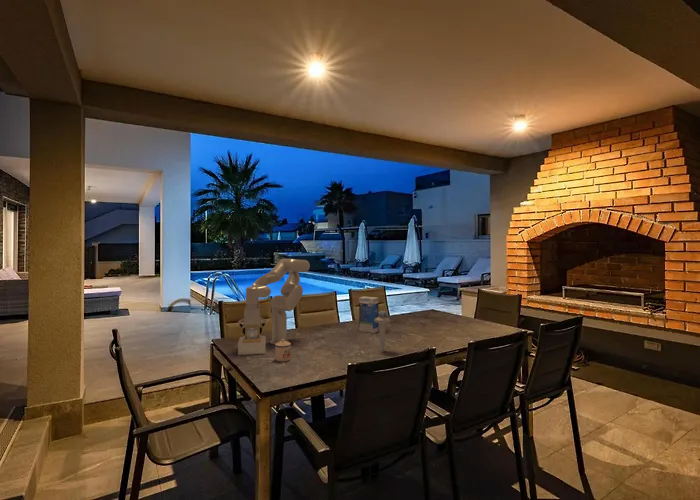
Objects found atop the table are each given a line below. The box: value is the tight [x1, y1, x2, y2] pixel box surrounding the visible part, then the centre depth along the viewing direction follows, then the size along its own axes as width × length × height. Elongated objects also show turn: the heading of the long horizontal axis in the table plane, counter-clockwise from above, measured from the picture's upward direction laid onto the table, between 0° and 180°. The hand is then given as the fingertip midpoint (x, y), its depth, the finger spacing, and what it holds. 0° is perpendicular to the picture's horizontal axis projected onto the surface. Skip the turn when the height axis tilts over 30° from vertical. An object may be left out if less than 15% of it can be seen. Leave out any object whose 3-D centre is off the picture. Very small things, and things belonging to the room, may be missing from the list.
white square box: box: [237, 334, 267, 356], centre depth 237 cm, size 16×16×8 cm
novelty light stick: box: [374, 310, 391, 353], centre depth 236 cm, size 10×10×25 cm
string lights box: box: [358, 295, 379, 334], centre depth 288 cm, size 13×8×26 cm, turn 58°
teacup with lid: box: [274, 339, 292, 363], centre depth 221 cm, size 12×9×12 cm
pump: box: [246, 326, 258, 339], centre depth 236 cm, size 6×8×8 cm
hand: (252, 334), depth 237 cm, fingers open, 9 cm apart
